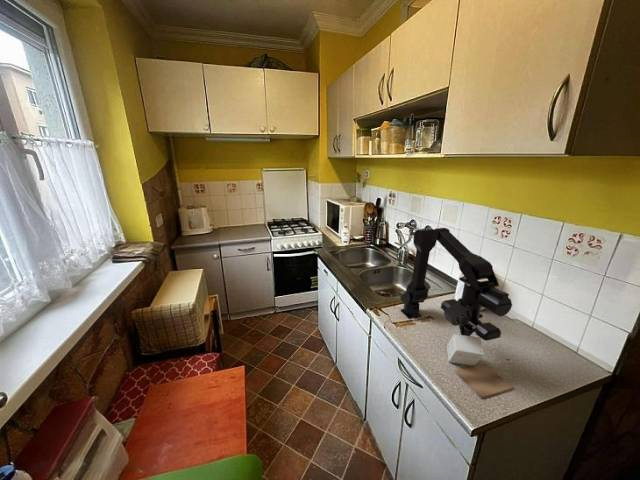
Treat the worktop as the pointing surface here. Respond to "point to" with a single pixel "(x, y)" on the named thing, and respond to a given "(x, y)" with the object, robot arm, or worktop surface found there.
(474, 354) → the small box
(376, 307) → the worktop surface
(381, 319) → the worktop surface
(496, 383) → the brown coaster
